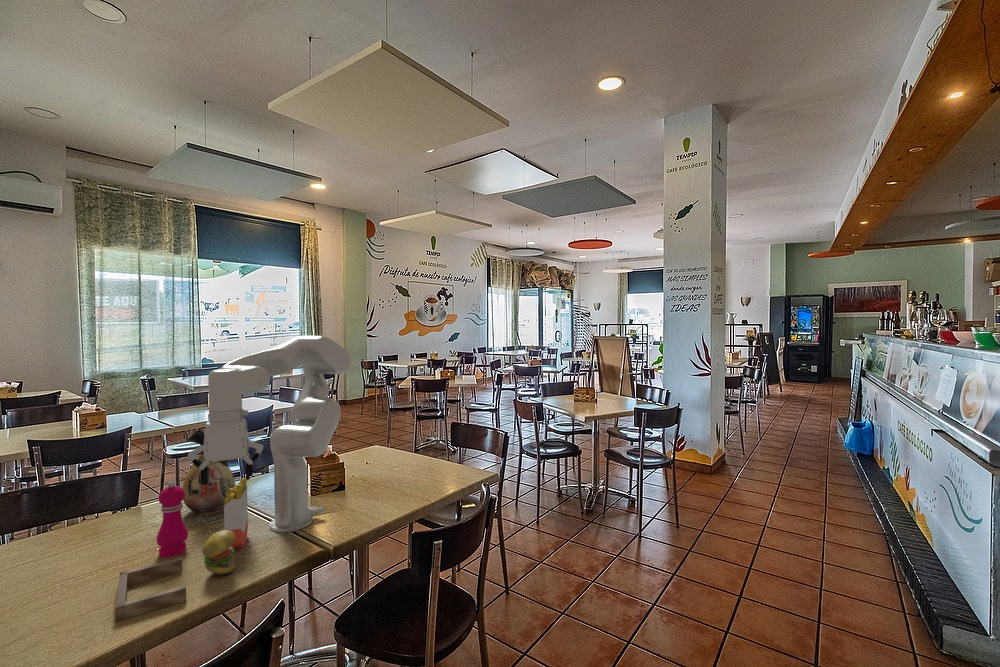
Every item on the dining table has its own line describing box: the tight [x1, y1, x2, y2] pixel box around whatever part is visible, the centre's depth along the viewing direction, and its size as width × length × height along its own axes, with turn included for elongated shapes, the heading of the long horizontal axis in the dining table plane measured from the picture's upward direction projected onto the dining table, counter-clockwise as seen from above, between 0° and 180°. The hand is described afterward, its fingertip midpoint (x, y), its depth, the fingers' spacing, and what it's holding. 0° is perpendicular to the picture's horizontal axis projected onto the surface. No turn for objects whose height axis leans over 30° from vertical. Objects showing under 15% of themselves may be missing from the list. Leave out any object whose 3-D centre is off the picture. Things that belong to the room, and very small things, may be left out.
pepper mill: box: [156, 480, 189, 559], centre depth 131 cm, size 7×7×20 cm
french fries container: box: [223, 477, 249, 549], centre depth 136 cm, size 5×11×18 cm, turn 19°
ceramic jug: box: [182, 428, 237, 516], centre depth 160 cm, size 17×15×30 cm
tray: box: [115, 556, 187, 622], centre depth 112 cm, size 12×18×3 cm
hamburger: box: [201, 529, 236, 575], centre depth 120 cm, size 8×7×12 cm
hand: (227, 480), depth 124 cm, fingers open, 9 cm apart
